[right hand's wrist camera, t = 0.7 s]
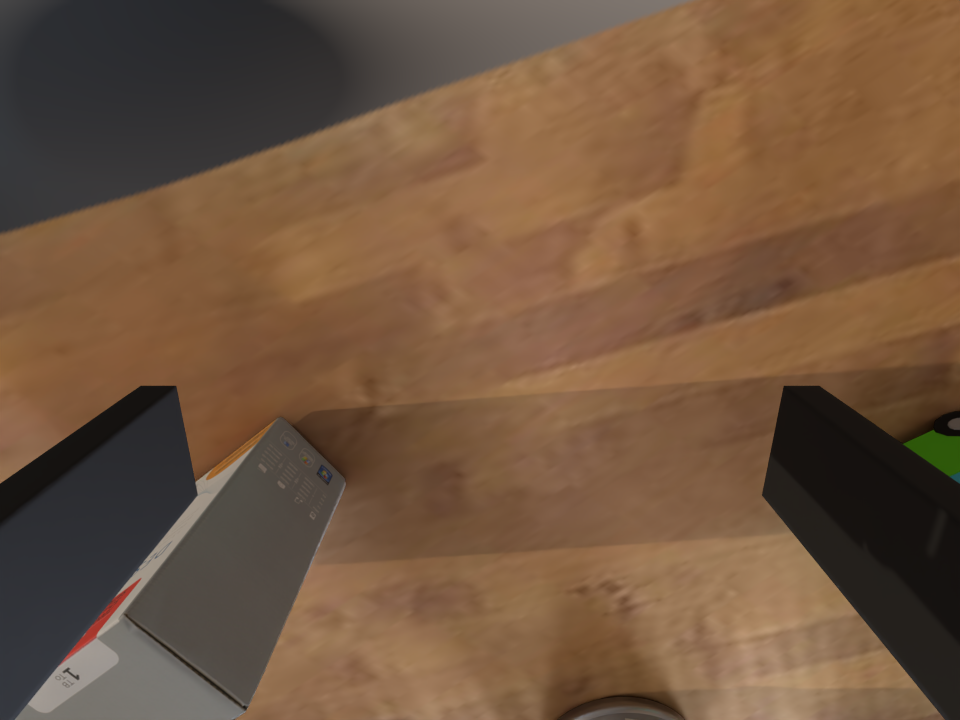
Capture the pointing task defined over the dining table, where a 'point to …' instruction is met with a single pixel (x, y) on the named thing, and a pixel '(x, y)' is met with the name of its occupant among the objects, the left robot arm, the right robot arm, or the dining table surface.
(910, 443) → the toy car
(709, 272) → the dining table surface
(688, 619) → the dining table surface
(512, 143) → the dining table surface
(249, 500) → the hard drive box
